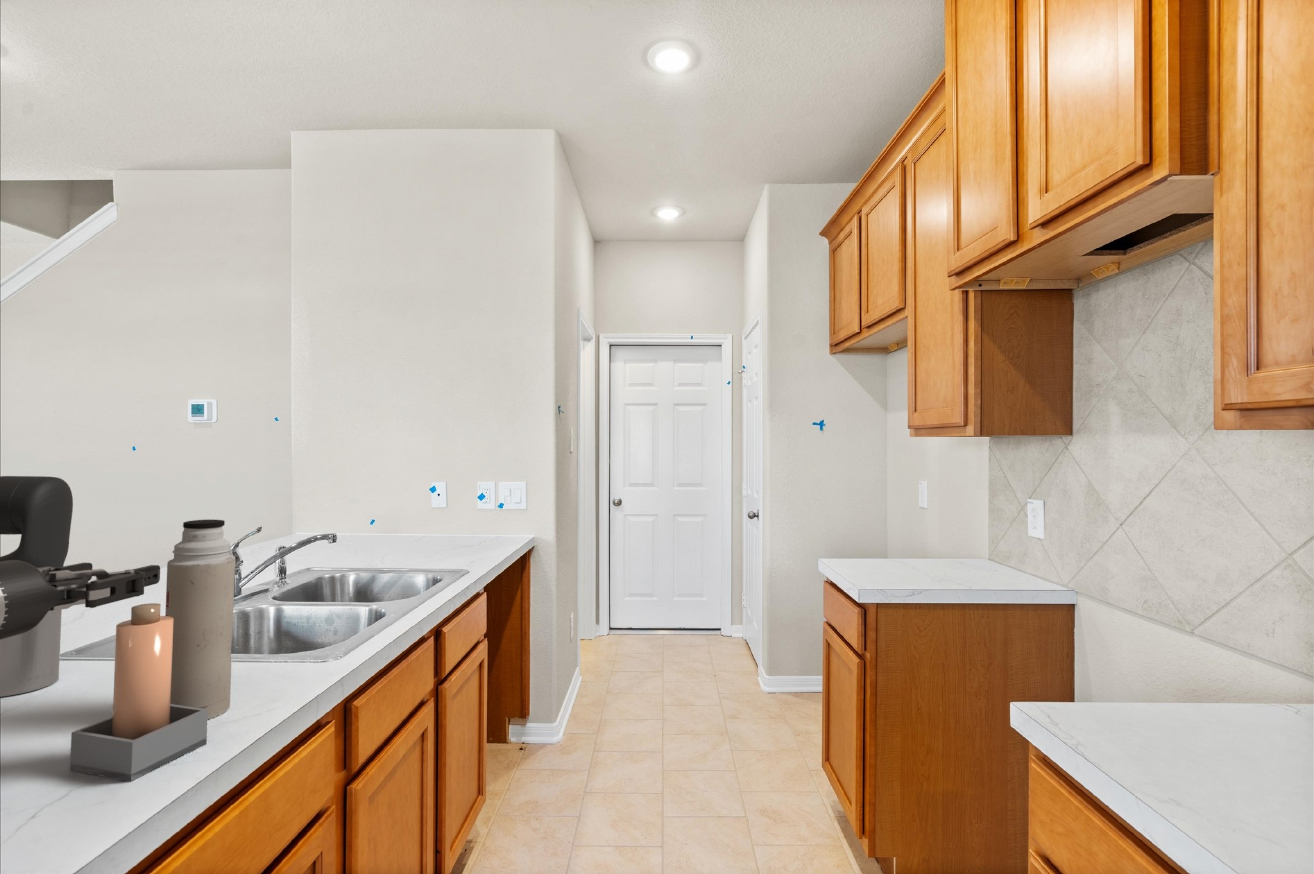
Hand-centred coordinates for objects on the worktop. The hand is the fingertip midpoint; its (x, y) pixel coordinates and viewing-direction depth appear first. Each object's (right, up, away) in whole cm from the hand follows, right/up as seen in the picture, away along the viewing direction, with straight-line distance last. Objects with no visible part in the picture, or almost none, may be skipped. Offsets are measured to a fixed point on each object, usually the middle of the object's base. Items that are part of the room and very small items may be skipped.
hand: (123, 572), depth 73 cm
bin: (0, -24, +3) cm, 24 cm away
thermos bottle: (-3, -24, +16) cm, 29 cm away
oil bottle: (0, -23, +3) cm, 23 cm away
